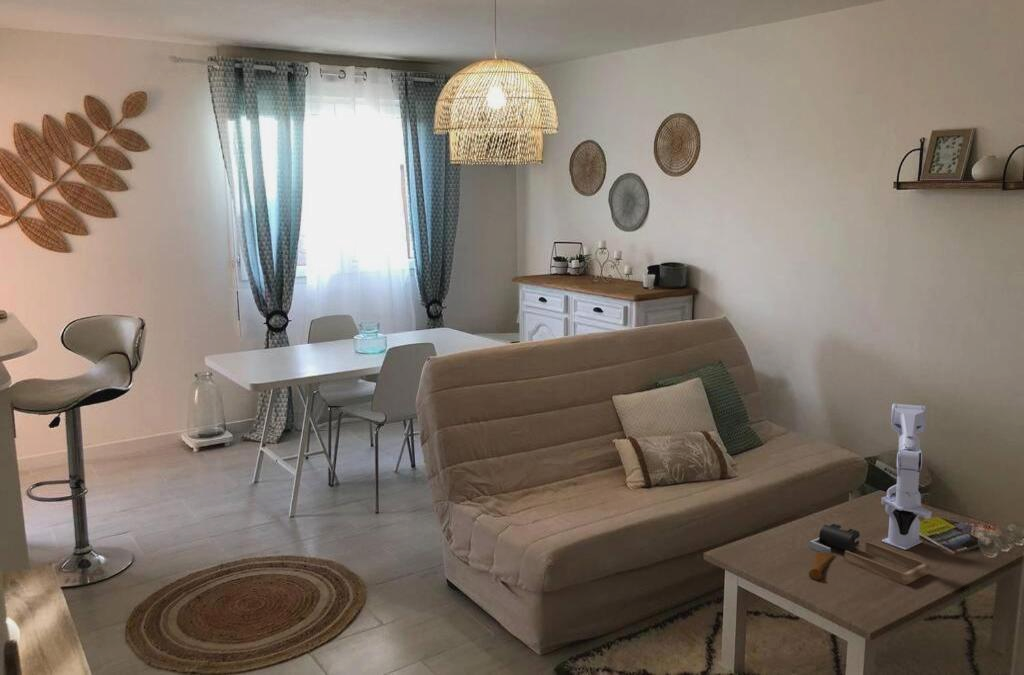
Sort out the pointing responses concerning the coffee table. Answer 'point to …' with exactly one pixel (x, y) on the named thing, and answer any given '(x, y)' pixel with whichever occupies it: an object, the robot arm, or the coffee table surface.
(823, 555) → the primitive tool
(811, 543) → the frame
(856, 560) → the cubby
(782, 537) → the coffee table surface
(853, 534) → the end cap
